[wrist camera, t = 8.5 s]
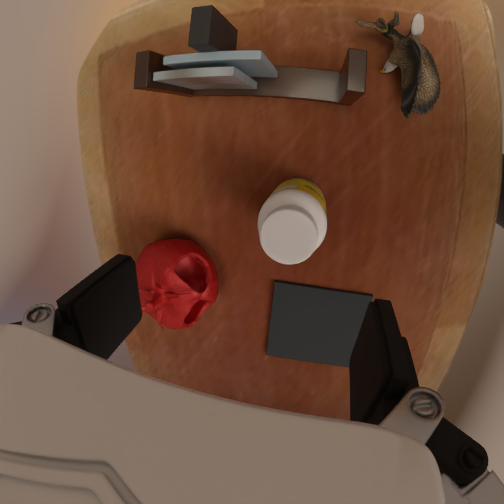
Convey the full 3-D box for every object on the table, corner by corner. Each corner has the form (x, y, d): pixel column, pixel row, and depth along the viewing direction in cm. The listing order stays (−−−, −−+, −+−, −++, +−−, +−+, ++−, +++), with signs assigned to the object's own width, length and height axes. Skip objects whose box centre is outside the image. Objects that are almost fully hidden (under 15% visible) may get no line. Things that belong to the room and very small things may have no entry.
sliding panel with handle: (279, 41, 21) (257, 1, 13) (277, 77, 23) (254, 52, 14) (204, 43, 23) (153, 14, 14) (201, 77, 24) (148, 60, 16)
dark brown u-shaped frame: (352, 76, 23) (367, 50, 14) (350, 105, 24) (365, 93, 15) (188, 69, 25) (136, 52, 17) (187, 96, 27) (133, 89, 18)
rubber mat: (372, 294, 31) (373, 296, 30) (349, 365, 35) (349, 367, 35) (275, 280, 33) (274, 281, 32) (266, 352, 37) (266, 354, 37)
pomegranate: (154, 296, 38) (117, 338, 29) (147, 224, 34) (98, 256, 25) (226, 311, 36) (198, 363, 28) (227, 234, 32) (193, 275, 23)
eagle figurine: (334, 45, 21) (386, 129, 21) (373, -2, 14) (443, 96, 14) (388, 42, 22) (432, 115, 23) (427, 6, 15) (482, 89, 16)
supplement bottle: (333, 220, 29) (337, 262, 20) (283, 236, 30) (265, 283, 22) (314, 168, 27) (311, 188, 18) (263, 187, 29) (235, 215, 20)
